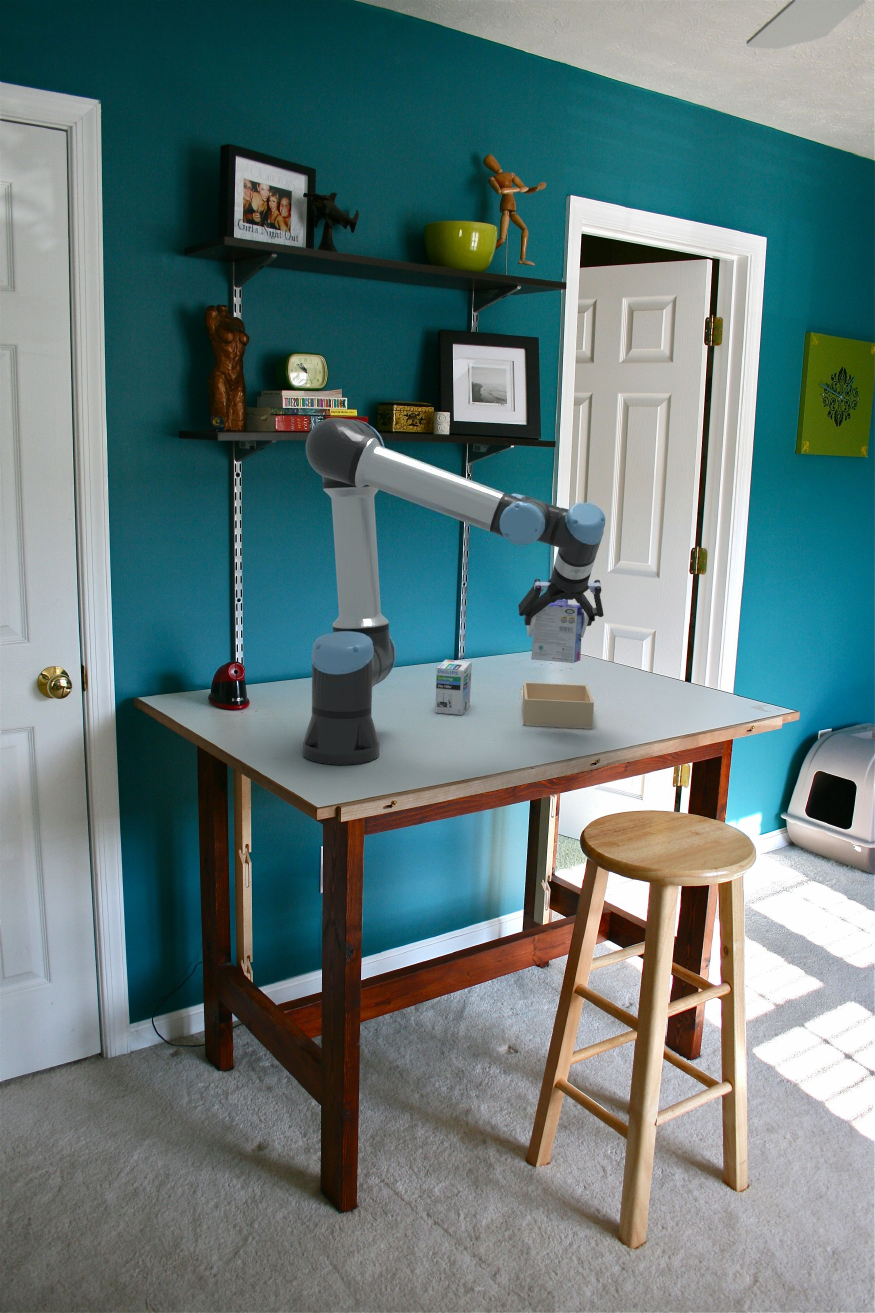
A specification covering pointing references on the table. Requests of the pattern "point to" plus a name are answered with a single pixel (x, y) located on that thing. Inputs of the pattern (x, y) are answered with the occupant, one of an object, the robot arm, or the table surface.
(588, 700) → the open tan box
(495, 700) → the table surface
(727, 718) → the table surface
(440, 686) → the light bulb box
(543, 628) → the ink cartridge box
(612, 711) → the table surface
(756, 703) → the table surface
